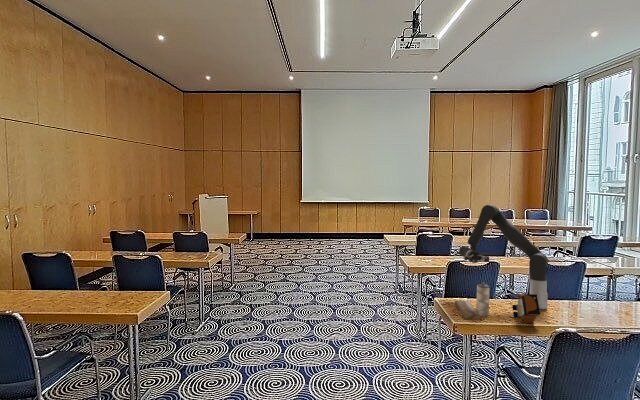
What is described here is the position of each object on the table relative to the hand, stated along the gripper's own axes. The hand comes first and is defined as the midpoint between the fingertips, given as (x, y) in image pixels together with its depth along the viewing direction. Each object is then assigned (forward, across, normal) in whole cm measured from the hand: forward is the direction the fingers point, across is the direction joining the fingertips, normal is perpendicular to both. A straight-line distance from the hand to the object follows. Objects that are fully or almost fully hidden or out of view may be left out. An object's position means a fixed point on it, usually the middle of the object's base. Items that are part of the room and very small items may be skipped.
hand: (479, 260), depth 257 cm
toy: (+21, +20, +30) cm, 42 cm away
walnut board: (+7, -8, +30) cm, 31 cm away
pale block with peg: (+11, 0, +30) cm, 32 cm away
